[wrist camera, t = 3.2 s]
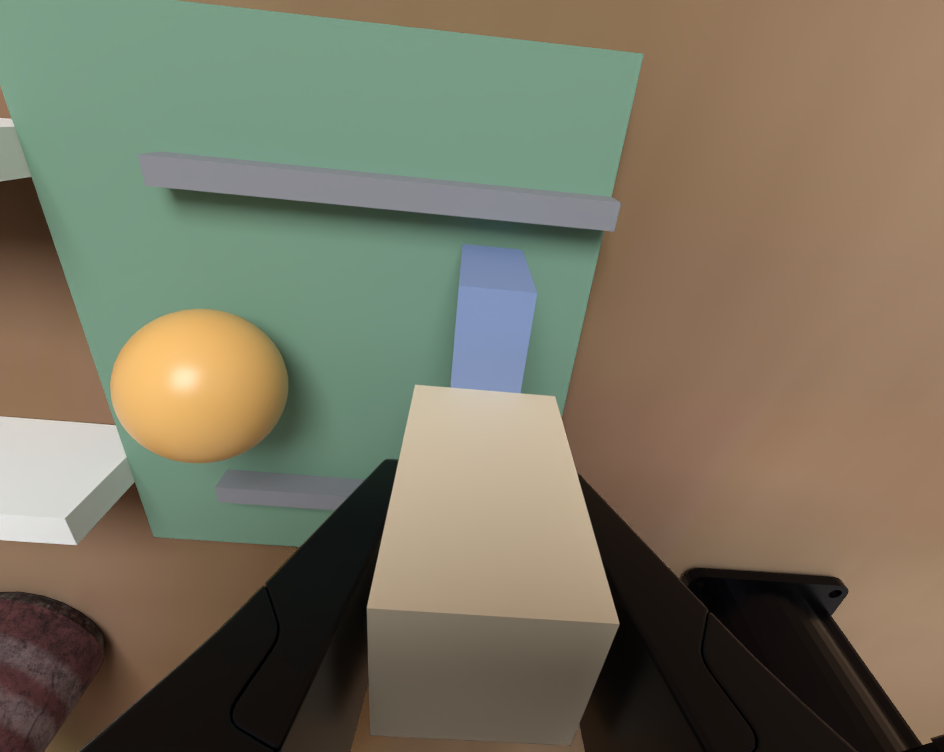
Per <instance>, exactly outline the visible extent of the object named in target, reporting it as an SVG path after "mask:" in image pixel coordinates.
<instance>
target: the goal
mask: <svg viewBox="0 0 944 752" xmlns="http://www.w3.org/2000/svg"><path fill="white" fill-rule="evenodd" d="M27 177H31V174H30V171H29V168H28V165H27V162H26V159H25V156H24V153H23V150H22V148H21V145H20V142H19V139H18V136H17V133H16V130H15V127H14V124H13V121H12V119H7V118H0V181H7V180H14V179H21V178H27ZM134 482H135V481H134V478H133V475H132V472H131V469H130V466H129V463H128V460H127V457H126V454H125V451H124V448H123V445H122V442H121V439H120V436H119V433H118V431H117V428H116V425H106V424H93V423H79V422H66V421H53V420H40V419H27V418H14V417H1V416H0V540H7V541H22V542H38V543H53V544H68V545H77V544H78V543H79V542H80V541H81V540H82V539H83V538H84V537H85V536H86V535H87V533H88V532H89V531H90V530H91V529H92V528H93V527H94V526H95V525H96V524H97V523H98V521H99V520H100V519H101V518H102V517H103V516H104V515H105V514H106V513H107V512H108V511H109V509H110V508H111V507H112V506H113V505H114V504H115V503H116V502H117V501H118V500H119V499H120V497H121V496H122V495H123V494H124V493H125V492H126V491H127V490H128V489H129V488H130V487H131V485H132V484H133V483H134Z"/></svg>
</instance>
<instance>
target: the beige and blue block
mask: <svg viewBox="0 0 944 752" xmlns="http://www.w3.org/2000/svg"><path fill="white" fill-rule="evenodd" d="M536 298H537V290H536V288H535V285H534V282H533V279H532V276H531V273H530V270H529V267H528V264H527V262H526V259H525V256H524V253H523V250H521V249H511V248H500V247H490V246H479V245H469V244H462V256H461V267H460V278H459V290H458V302H457V314H456V326H455V338H454V350H453V362H452V374H451V387H437V386H425V385H415V387H414V392H413V397H412V401H411V406H410V410H409V415H408V420H407V424H406V429H405V434H404V438H403V443H402V447H401V452H400V457H399V461H398V466H397V471H396V475H395V480H394V484H393V489H392V494H391V498H390V503H389V507H388V512H387V517H386V521H385V526H384V531H383V535H382V540H381V544H380V549H379V554H378V558H377V563H376V568H375V572H374V577H373V581H372V586H371V591H370V595H369V600H368V605H367V639H368V678H369V716H370V736H390V737H410V738H429V739H449V740H469V741H488V742H508V743H528V744H547V745H567V746H571V743H572V741H573V738H574V736H575V733H576V731H577V728H578V726H579V723H580V721H581V718H582V716H583V713H584V711H585V709H586V706H587V704H588V701H589V699H590V696H591V694H592V691H593V689H594V686H595V684H596V681H597V679H598V676H599V674H600V671H601V669H602V666H603V664H604V662H605V659H606V657H607V654H608V652H609V649H610V647H611V644H612V642H613V639H614V637H615V634H616V632H617V629H618V627H619V624H620V623H619V620H618V616H617V613H616V609H615V606H614V602H613V599H612V595H611V592H610V588H609V585H608V581H607V578H606V574H605V570H604V567H603V563H602V560H601V556H600V553H599V549H598V546H597V542H596V539H595V535H594V532H593V528H592V525H591V521H590V518H589V514H588V510H587V507H586V503H585V500H584V496H583V493H582V489H581V486H580V482H579V479H578V475H577V472H576V468H575V465H574V461H573V458H572V454H571V451H570V447H569V443H568V440H567V436H566V433H565V429H564V426H563V422H562V419H561V415H560V412H559V408H558V405H557V401H556V398H555V396H547V395H535V394H522V393H521V387H522V381H523V375H524V369H525V363H526V357H527V351H528V346H529V340H530V334H531V328H532V322H533V316H534V310H535V304H536Z"/></svg>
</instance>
